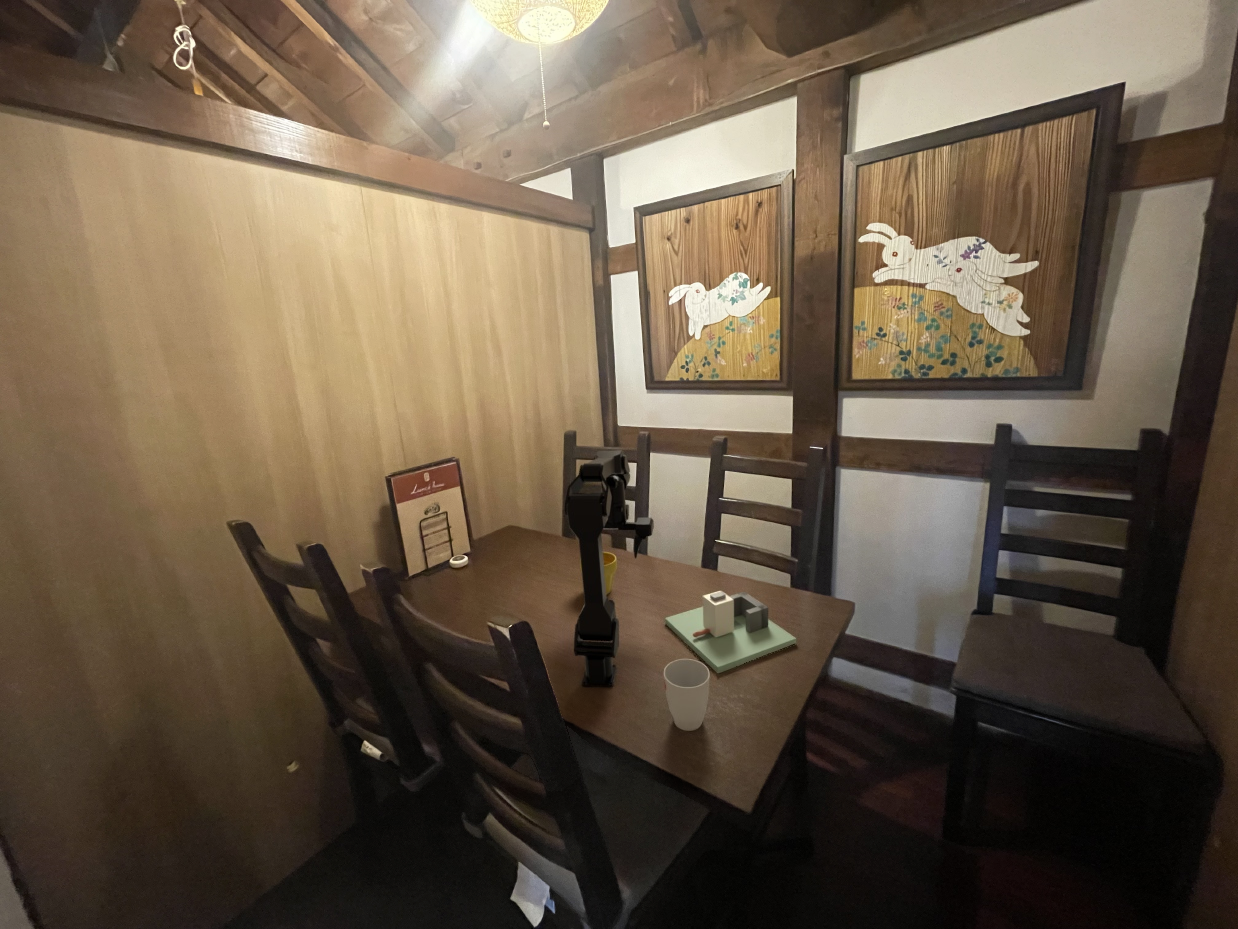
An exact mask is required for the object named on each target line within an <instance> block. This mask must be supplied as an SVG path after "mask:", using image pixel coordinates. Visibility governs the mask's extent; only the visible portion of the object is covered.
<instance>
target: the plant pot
mask: <svg viewBox="0 0 1238 929" xmlns="http://www.w3.org/2000/svg"><path fill="white" fill-rule="evenodd" d="M603 561H604V574H605V586H606V595H609V594H610V593H611V592H612V590H613V584H614V578H615V573H616V571H617V567H618V559H617V556H616V555H615V554H614V553H612V552H608V551H603ZM579 567H580V568H579V569H580V571H581V573H582V569H581V559H579Z"/></svg>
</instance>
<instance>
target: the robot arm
mask: <svg viewBox="0 0 1238 929" xmlns="http://www.w3.org/2000/svg"><path fill="white" fill-rule="evenodd" d="M624 453H625V452H624V450H598V451H597V452H596V453H595V454H594V457H593V460H591V461H588V462H587V463H585V462H584V463H583V464H580V466H579V470H578V474H577V476H576V477H575V478H574V479H573V480H572V481H571V483H570V484H569V485H568V486H567V490H566V496H565V500H564V515H565V516H566V517H567V522H568V528H569V529H570V531H571V532H572V533H573V534H574V536H575V537H576V538H577V539H578V546H579V555H580V556H579V557H580V559H581V569H582V572H581V576H582V577H581V579H582V589H583V599H584V605H583V606H582V609H581V610H580V613H579V615H578V618H577V621H576V623H575V624H574V625H575V627H574V635H573V636H574V637H573V653H574V655H575V657H579V656H580V657H583V658H584V660H583V661H584V673H583V677H582V681H581V686H582V687H613V686H614V684H615V683H614V682H615V678H616V672H617V665H615V664H613V659H615V658H616V657H617V653H618V649H619V646H620V622H619V618H617V612H616V604H615V602H614V600H613V599H608V597H607V594H606V586H605V574H604V561H603V552H604V551H603V541H602V540H603V539H602V532H603V531H635V535H634V542H633V543H634V544H633V546H634V547H633V550H634V551H633V555H634V559H637V558H638V554H639V550H640V546H641V544H642V541H643V540H646V539H648V537H651V536H653V532H654V528H655V522H654V519H653V518H652V517H637V518H636V522H634V521H632V522H631V521H628V520H629V517H630V504H627V503H626V496H625V495H626V494H625V490H627V489H626V488H627V487H628V485H629V483H630V480H631V474H630V473H631V469H630V465H629V460H628V456H627V455H626V454H624ZM587 483H600V492H580V491H581V490H582V489H583V488H584V487H585V484H587ZM580 559H579V560H580ZM581 569H580V570H581Z"/></svg>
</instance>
